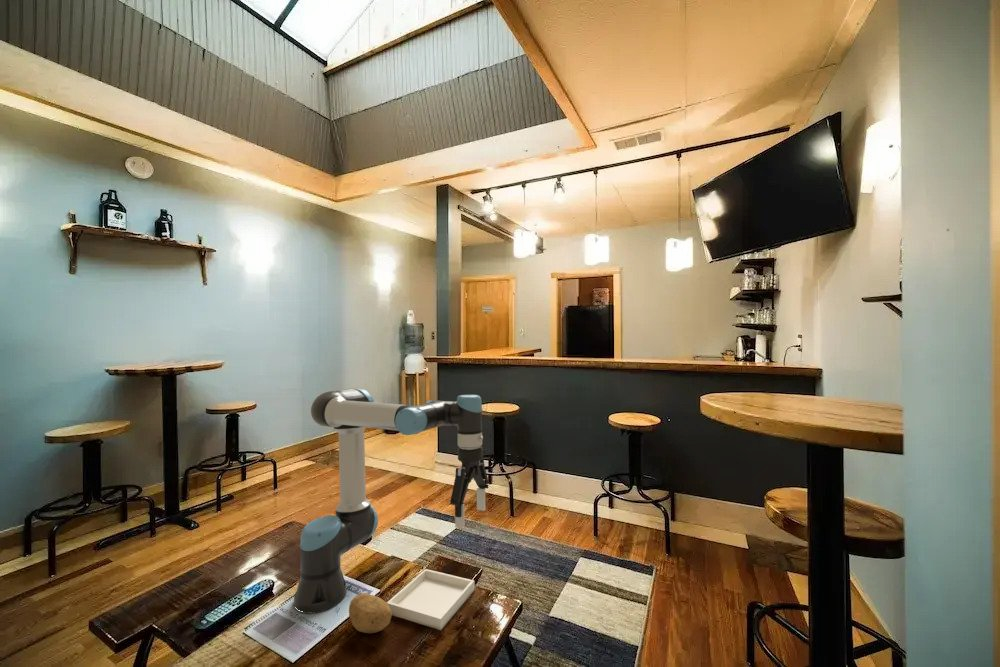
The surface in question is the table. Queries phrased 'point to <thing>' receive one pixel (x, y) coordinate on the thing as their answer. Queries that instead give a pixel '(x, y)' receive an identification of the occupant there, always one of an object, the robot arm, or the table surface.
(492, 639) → the table surface
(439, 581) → the bin
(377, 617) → the potato
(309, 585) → the robot arm
